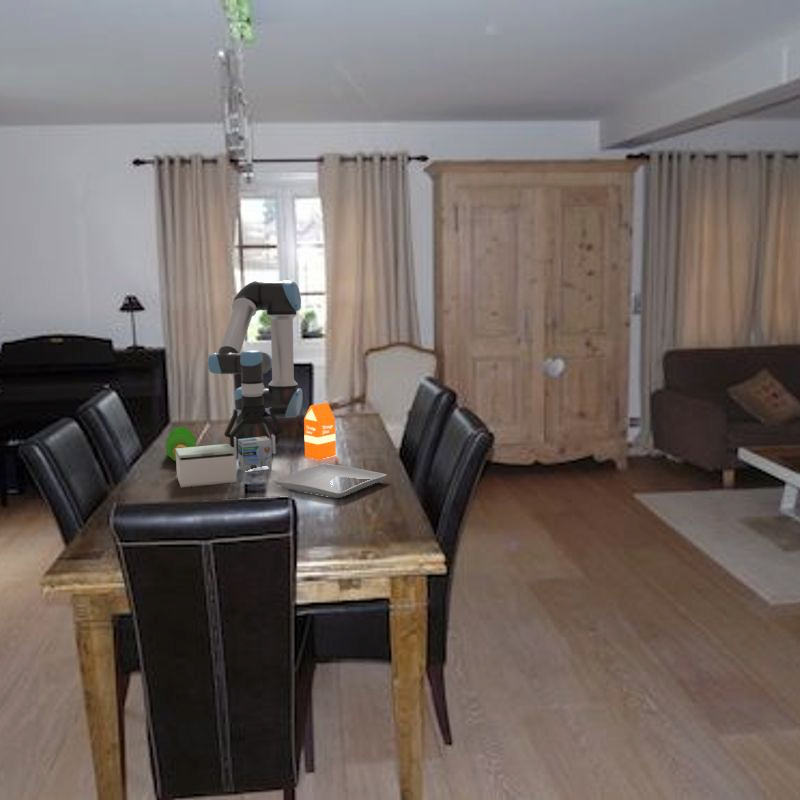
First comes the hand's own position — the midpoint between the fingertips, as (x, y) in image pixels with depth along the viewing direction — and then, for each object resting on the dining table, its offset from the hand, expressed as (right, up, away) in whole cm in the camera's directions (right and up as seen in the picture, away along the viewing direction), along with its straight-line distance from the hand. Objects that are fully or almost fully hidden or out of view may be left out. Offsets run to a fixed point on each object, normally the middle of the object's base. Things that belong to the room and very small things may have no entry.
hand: (254, 454), depth 285 cm
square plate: (+29, -10, -21) cm, 37 cm away
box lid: (-14, +2, -14) cm, 20 cm away
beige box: (-14, -8, -12) cm, 20 cm away
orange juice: (+21, -2, +18) cm, 28 cm away
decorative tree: (-31, -2, +20) cm, 36 cm away
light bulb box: (0, -5, +1) cm, 6 cm away
